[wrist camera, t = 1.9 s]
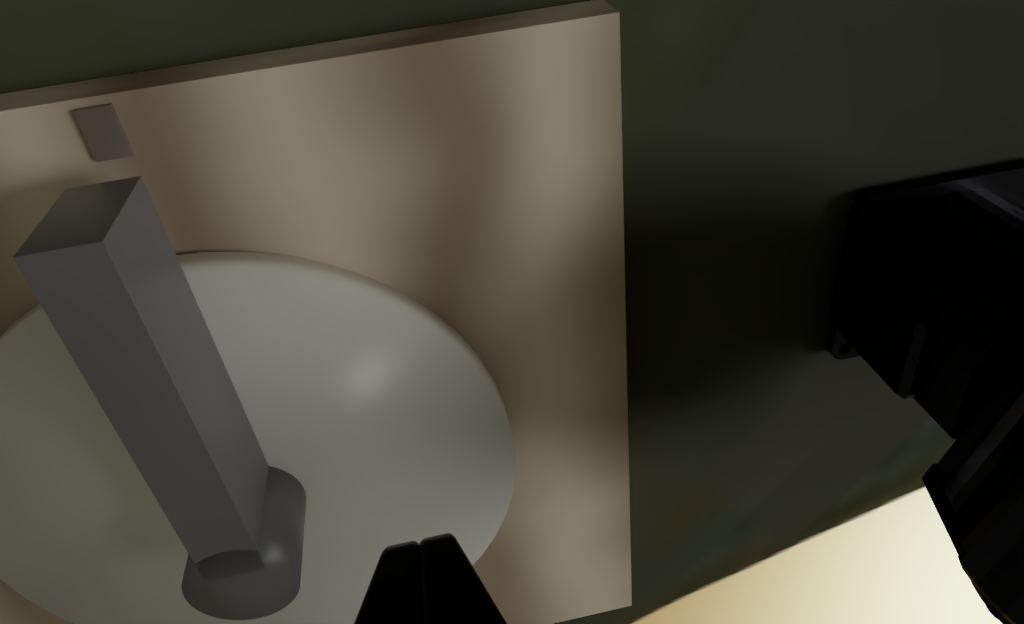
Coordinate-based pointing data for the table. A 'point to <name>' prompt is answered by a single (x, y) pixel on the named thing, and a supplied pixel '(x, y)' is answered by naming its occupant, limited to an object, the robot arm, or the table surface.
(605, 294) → the dial base
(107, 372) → the dial
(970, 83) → the table surface
